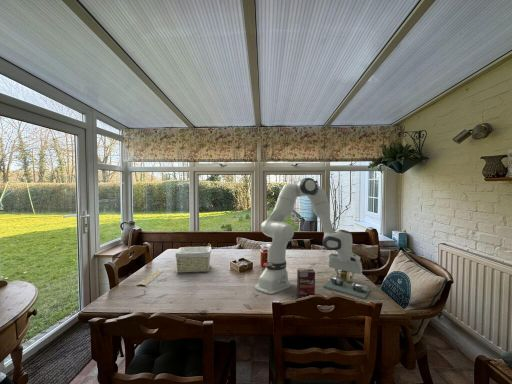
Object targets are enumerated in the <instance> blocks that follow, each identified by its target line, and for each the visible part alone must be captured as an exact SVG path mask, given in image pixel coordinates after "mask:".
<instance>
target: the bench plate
mask: <svg viewBox="0 0 512 384" xmlns="http://www.w3.org/2000/svg"><path fill="white" fill-rule="evenodd" d="M352 284H353V283H349V282H348V283H345V282H343V285H342V286H339V285H338V284H337V285H334V284H332V283H331V280H330V279H329V281H327V282H326V283H325V284H324V285H322V288H323V289H328V290H330V291H335V292H338V293H341V294H345V295H348V296H350V297H355V298H359V299H362V300H365V299H366V297H367V296H368V295H369V293H370V292H371V289H370V288H368V292H364V291H363V292H362V293H360V292H356V289H355V290H354V289H352Z"/></svg>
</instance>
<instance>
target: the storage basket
mask: <svg viewBox="0 0 512 384" xmlns="http://www.w3.org/2000/svg"><path fill="white" fill-rule="evenodd" d="M211 253H212V247H211V246H184V247H183V246H182V247H179V248H178V249H177V251H176V252H175V260H176V271H177V274H181V273H201V272H202V273H203V272H205V273H207V272H209V271H210V262H211Z"/></svg>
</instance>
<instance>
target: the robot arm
mask: <svg viewBox="0 0 512 384" xmlns="http://www.w3.org/2000/svg"><path fill="white" fill-rule="evenodd" d="M306 196H307V197H308V198H309V201H310V205H311V209H312V212H313V213H314V215H315V216H316V217H317V218H318V219H319V220H320V222H321V226H322V228H323V229H322V230H323V237H322V246H323V248H324V249H325V250H328V251H337V253H333V252H332V253H330V254H328V268H329V269H330V268H331V269H334V271H335V274H336V277H340V271H342V270H343V271H348V272H349V273H351V275H349V280H353V279H354V276H355V274H357V275H361V274H362V273H363V265H362V264H363V263H362V262H361V256H359V255H358V254H356V253H354V252H353V235H352V233H351V232H350V231H349V230H346V229H339V230H338V231H336V232H335V230H334V228H333V224H332V221H331V216H330V215H331V207H330V203H329V199H328V196H327V194H326V191H325V189H324V188H323V187H322V186H319V185H318V183H317V182H316V181H315V179H313V178H312V177H304V178H300V179H299V180H297V181H294V183H286V184H284V185H283V186H282V188H281V190H280V191H279V194H278V196H277V200H276V202H275V205H274V208H273V210H272V212H271V213H270V215H269V216H268V217H267V219H265V220H263V221H262V222H261V225H260V231H261V233H262V234H264V235H265V236H267V237H269V238H272V239H271V240H272V241H271V244H270V245H269V246H268V247H267V260H266V262H264V263H263V267H265V268H264V270H263V271H262V273H261V274H260V275H259V276H258V277H259V278H258V283H257V284H255V285H254V286H253V287H254V289H255V290H256V291H258V292H261V293H264V294H269V295H274V294H277V293H280V292H282V291H285V290H287V289H289V288H291V285H290V283H289V274H288V271H287V260H286V252H287V251H286V250H287V246H288V243H289V242H290V241H291V240H292V239H293V237H294V235H295V229H294V227H293V226H292V225H291V224H289V223H287V222H285V220H286V219H287V218H289V217H290V216H291V215H292V213H293V210H294V206H295V203H296V199H297V197H306Z"/></svg>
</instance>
